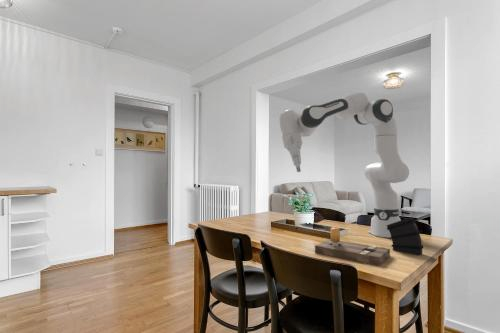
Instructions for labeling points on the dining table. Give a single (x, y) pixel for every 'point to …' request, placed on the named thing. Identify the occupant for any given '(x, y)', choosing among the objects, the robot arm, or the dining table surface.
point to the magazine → (406, 236)
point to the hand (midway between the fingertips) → (298, 169)
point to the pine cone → (318, 217)
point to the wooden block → (335, 236)
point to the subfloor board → (354, 252)
